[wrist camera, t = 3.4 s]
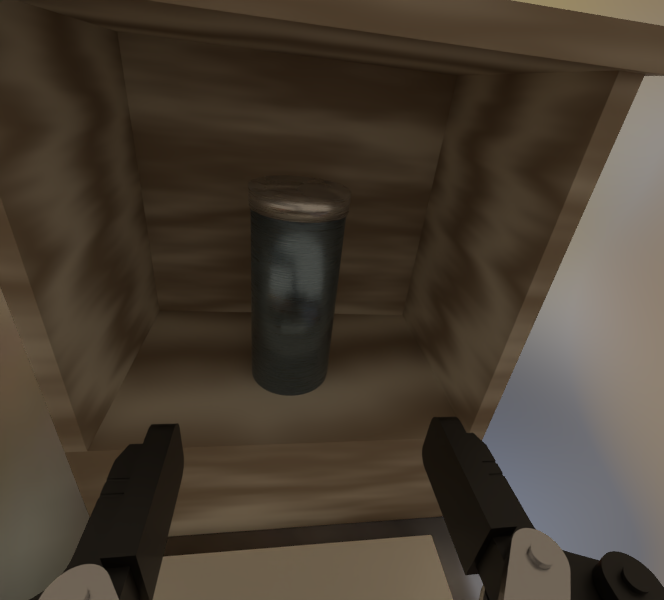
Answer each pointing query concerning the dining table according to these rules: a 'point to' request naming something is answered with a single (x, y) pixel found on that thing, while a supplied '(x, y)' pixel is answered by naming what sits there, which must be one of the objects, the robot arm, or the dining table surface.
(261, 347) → the tin
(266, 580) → the tile
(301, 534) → the dining table surface
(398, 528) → the dining table surface
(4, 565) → the dining table surface
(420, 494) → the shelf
